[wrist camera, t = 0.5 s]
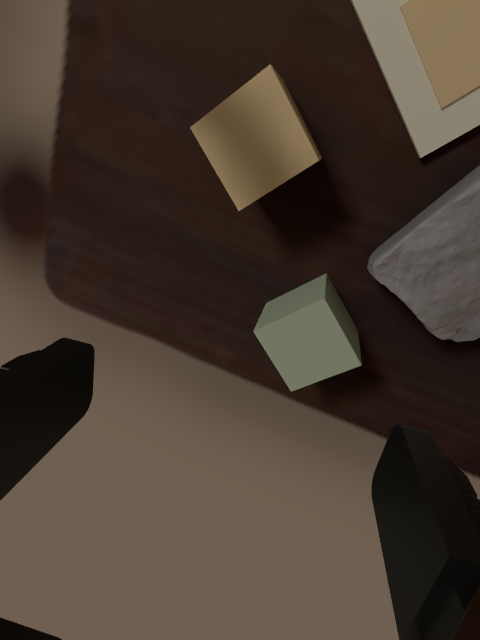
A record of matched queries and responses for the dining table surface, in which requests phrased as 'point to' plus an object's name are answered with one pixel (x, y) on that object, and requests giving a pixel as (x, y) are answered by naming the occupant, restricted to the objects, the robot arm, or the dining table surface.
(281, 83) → the maple cube
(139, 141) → the dining table surface
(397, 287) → the stone block
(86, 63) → the dining table surface
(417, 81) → the card
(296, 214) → the dining table surface
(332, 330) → the sage green cube
